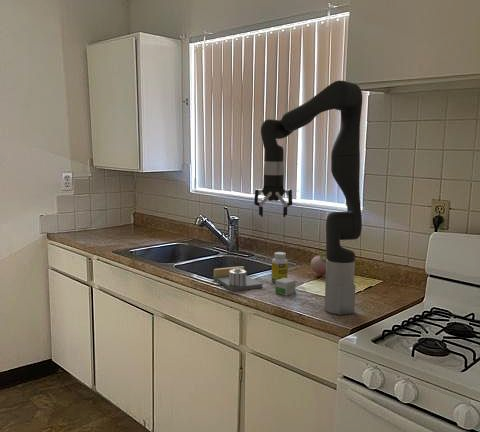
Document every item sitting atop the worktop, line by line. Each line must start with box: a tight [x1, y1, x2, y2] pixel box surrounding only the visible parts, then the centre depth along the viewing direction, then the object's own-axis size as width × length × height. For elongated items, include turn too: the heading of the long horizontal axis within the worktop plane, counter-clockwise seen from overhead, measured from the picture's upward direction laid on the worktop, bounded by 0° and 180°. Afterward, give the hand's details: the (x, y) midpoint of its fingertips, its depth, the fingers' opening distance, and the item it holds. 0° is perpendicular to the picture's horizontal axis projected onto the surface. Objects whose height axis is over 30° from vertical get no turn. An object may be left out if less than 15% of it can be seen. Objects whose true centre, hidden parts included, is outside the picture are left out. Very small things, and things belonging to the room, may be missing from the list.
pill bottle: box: [271, 251, 289, 283], centre depth 200 cm, size 6×6×12 cm
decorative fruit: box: [310, 253, 327, 277], centre depth 209 cm, size 9×8×10 cm
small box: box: [274, 277, 297, 296], centre depth 185 cm, size 6×6×5 cm
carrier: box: [213, 265, 263, 292], centre depth 196 cm, size 18×13×8 cm
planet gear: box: [229, 269, 247, 286], centre depth 190 cm, size 6×6×5 cm
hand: (272, 216), depth 187 cm, fingers open, 8 cm apart
